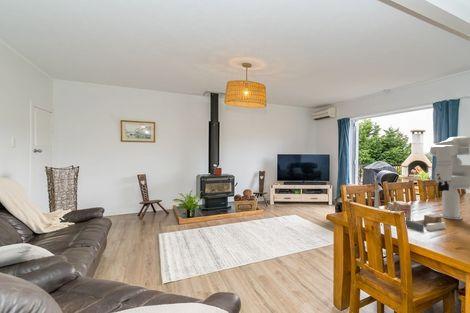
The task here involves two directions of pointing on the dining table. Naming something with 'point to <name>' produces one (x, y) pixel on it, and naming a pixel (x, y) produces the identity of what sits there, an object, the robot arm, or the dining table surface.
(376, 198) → the candlestick
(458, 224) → the dining table surface
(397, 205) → the stack of blocks
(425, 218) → the walnut block
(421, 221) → the chute rail
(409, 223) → the bar
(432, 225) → the chute rail
